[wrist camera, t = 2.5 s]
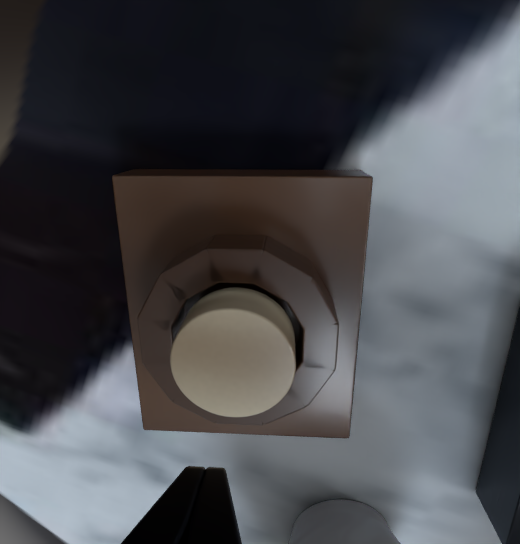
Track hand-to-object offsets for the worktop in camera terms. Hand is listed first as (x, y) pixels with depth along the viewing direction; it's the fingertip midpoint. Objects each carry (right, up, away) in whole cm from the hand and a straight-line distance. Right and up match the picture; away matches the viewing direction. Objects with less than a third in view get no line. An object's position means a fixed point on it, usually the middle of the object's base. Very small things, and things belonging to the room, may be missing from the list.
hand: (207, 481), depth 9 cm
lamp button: (0, +2, +6) cm, 6 cm away
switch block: (+1, +3, +9) cm, 10 cm away
